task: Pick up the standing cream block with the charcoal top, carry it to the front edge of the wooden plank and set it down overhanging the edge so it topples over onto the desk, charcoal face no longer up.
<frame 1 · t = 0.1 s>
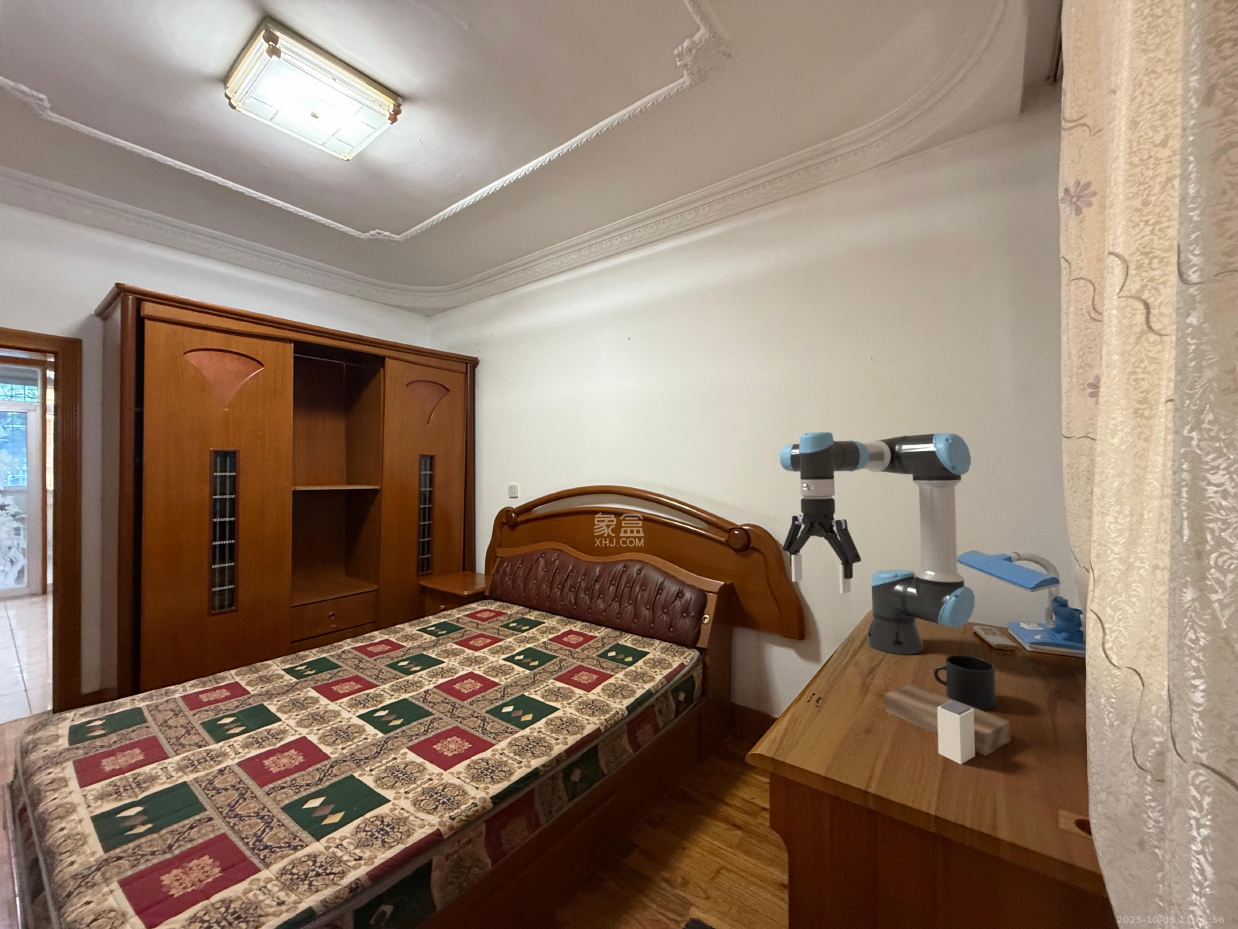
hand: (820, 586, 116), 28 cm above the table, fingers open, 13 cm apart
mug: (964, 700, 116), on the table
wooden plank: (944, 725, 105), on the table
block: (956, 754, 94), on the table
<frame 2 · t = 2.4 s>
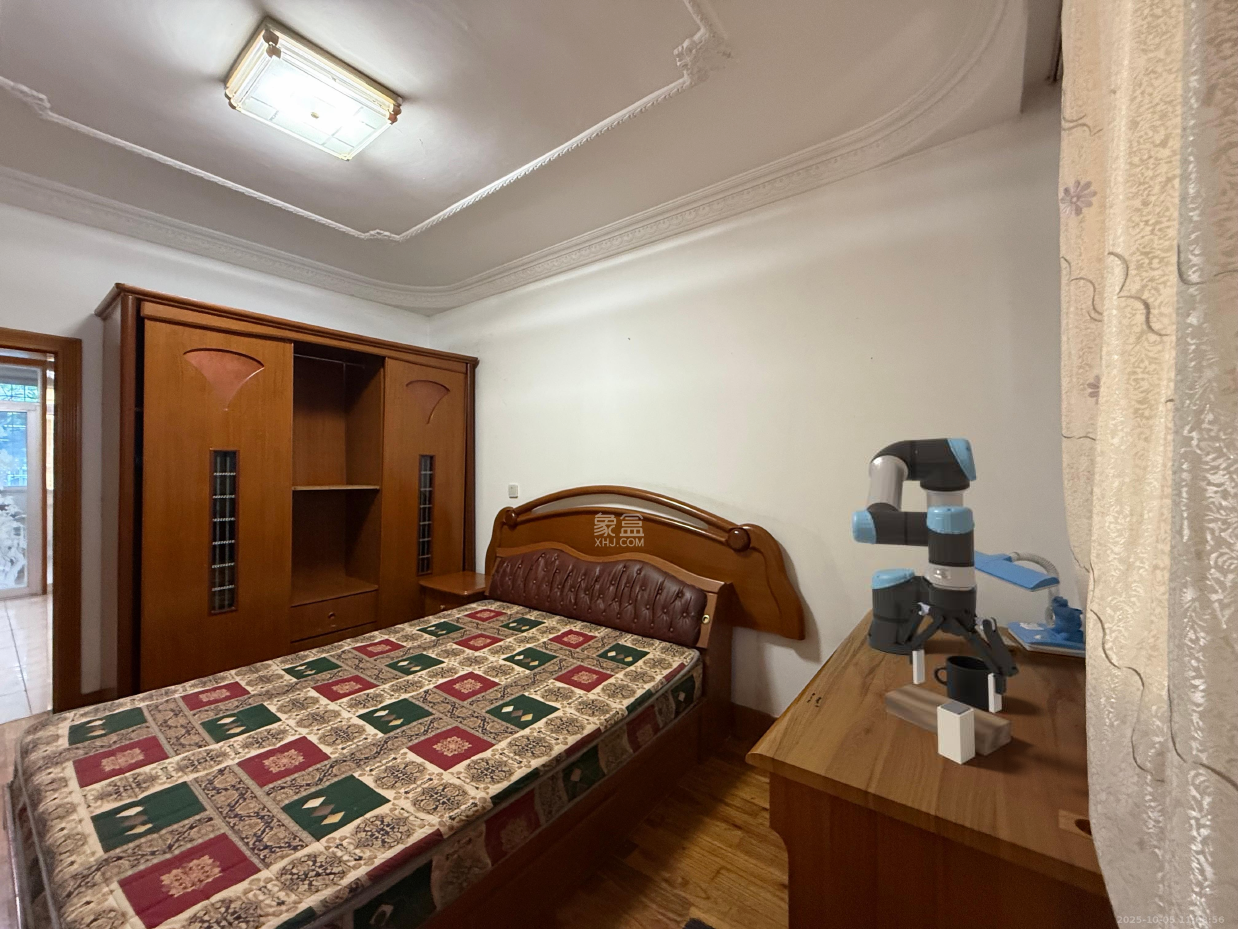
hand: (955, 695, 94), 12 cm above the table, fingers open, 13 cm apart
nothing on the table moved.
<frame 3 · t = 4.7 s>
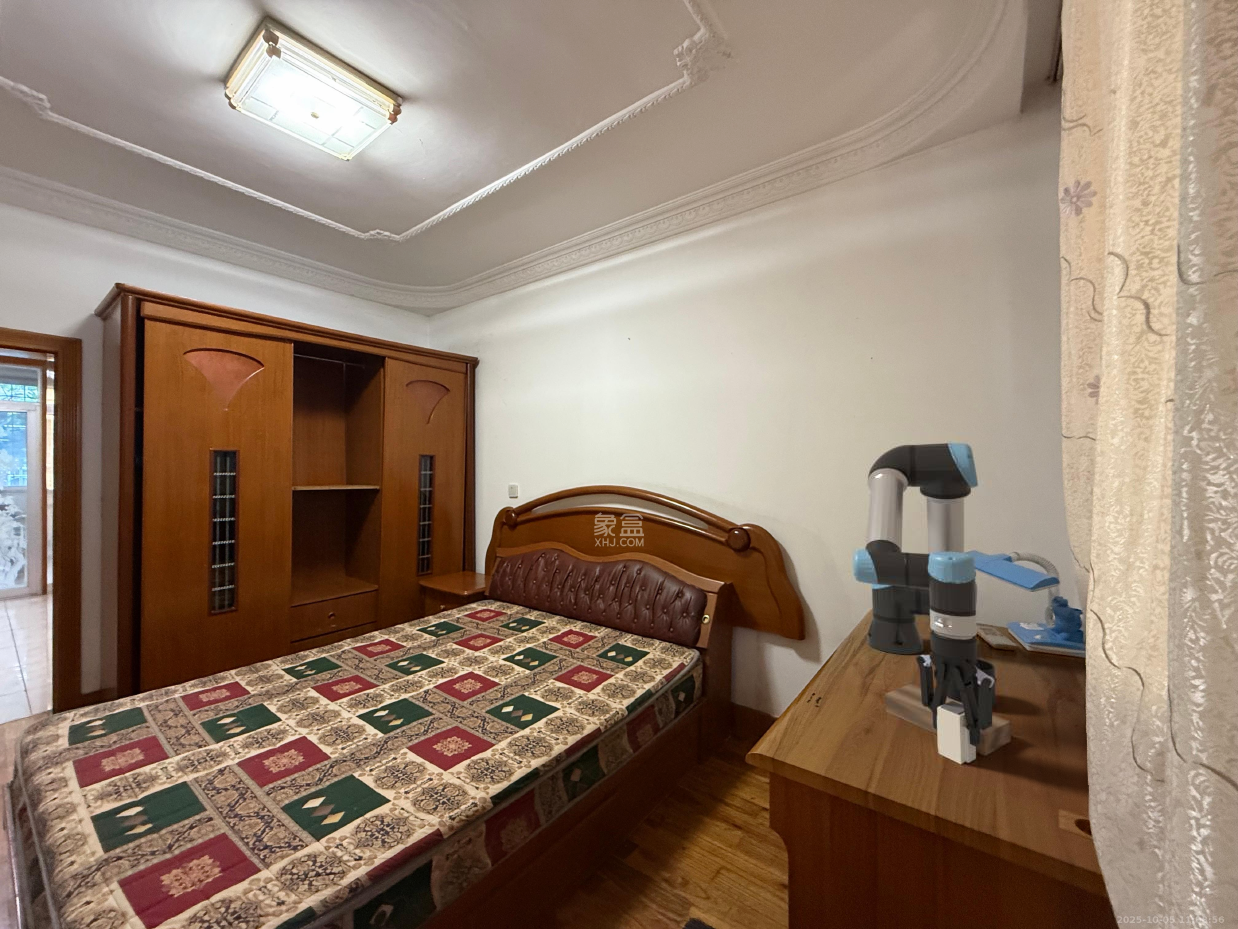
hand: (956, 753, 94), 0 cm above the table, fingers closed on block, 4 cm apart
block: (956, 754, 94), on the table, touching gripper
everything else where it was.
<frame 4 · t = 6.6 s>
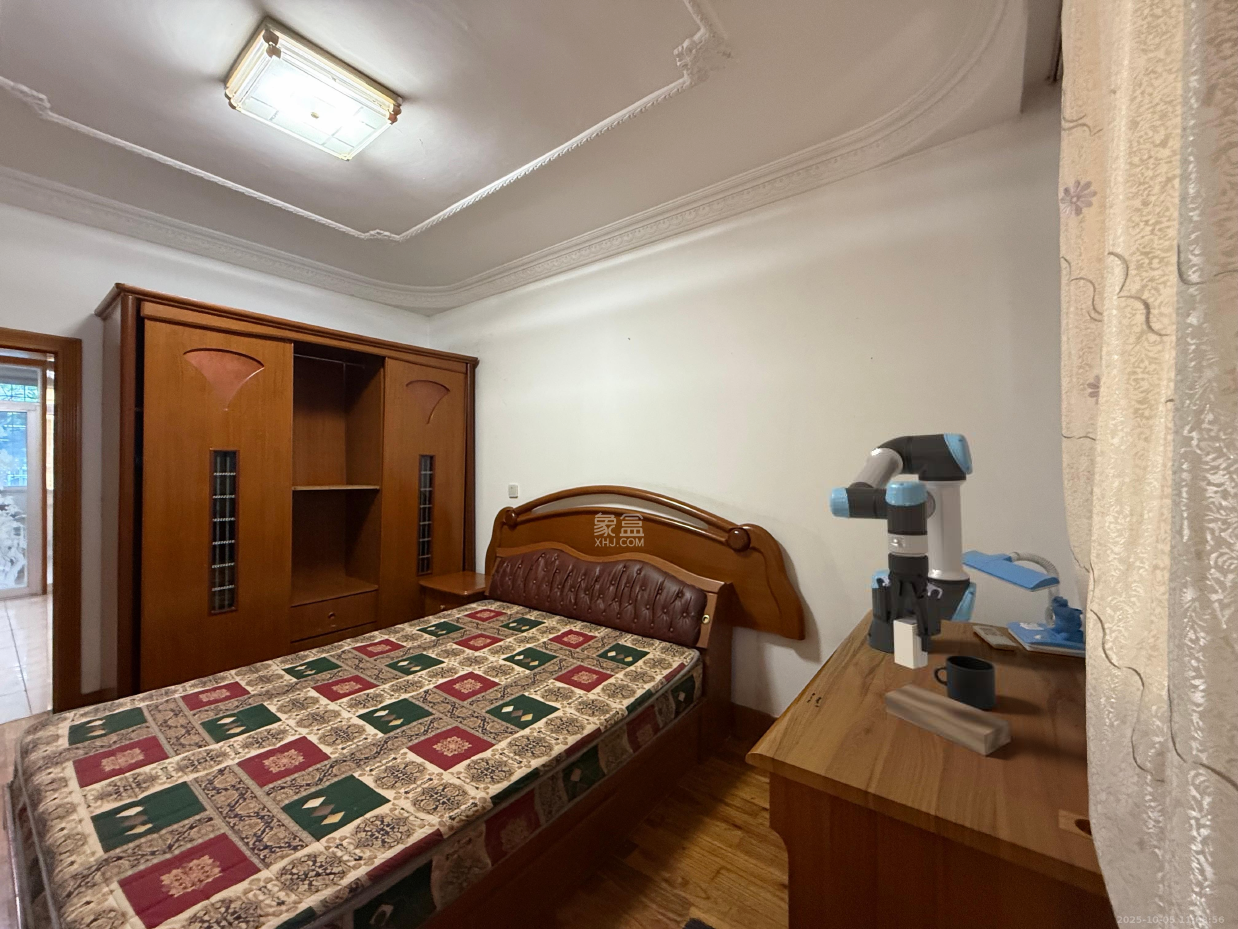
hand: (910, 661, 104), 14 cm above the table, fingers closed on block, 4 cm apart
block: (910, 663, 104), point 14 cm above the table, touching gripper
everything else where it was.
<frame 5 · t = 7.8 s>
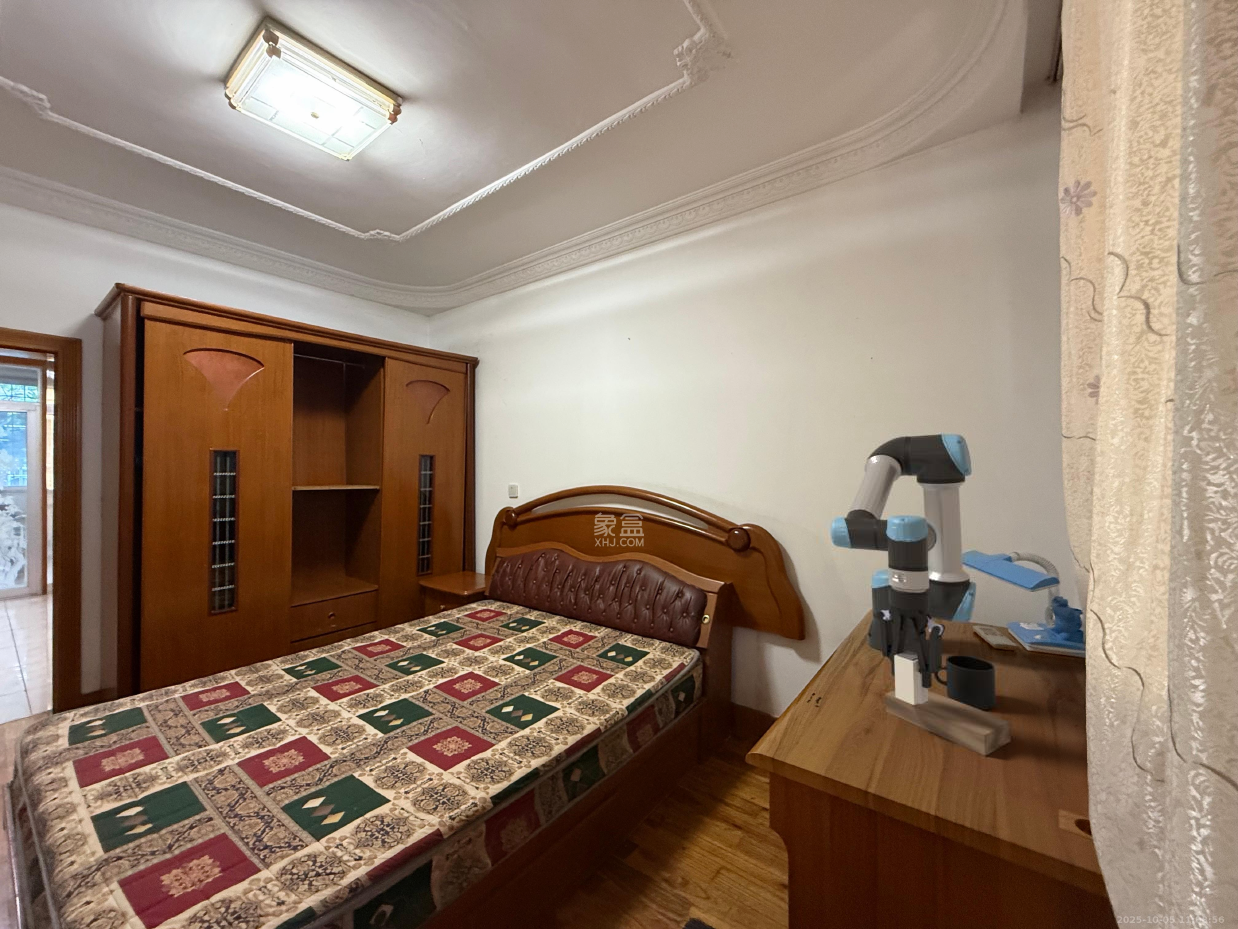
hand: (911, 696, 104), 7 cm above the table, fingers closed on block, 4 cm apart
block: (911, 698, 104), point 6 cm above the table, touching gripper
everything else where it was.
when the fingers open (5 cm above the table, at t = 8.7 s): block drops 2 cm and tips over, point 2 cm above the table.
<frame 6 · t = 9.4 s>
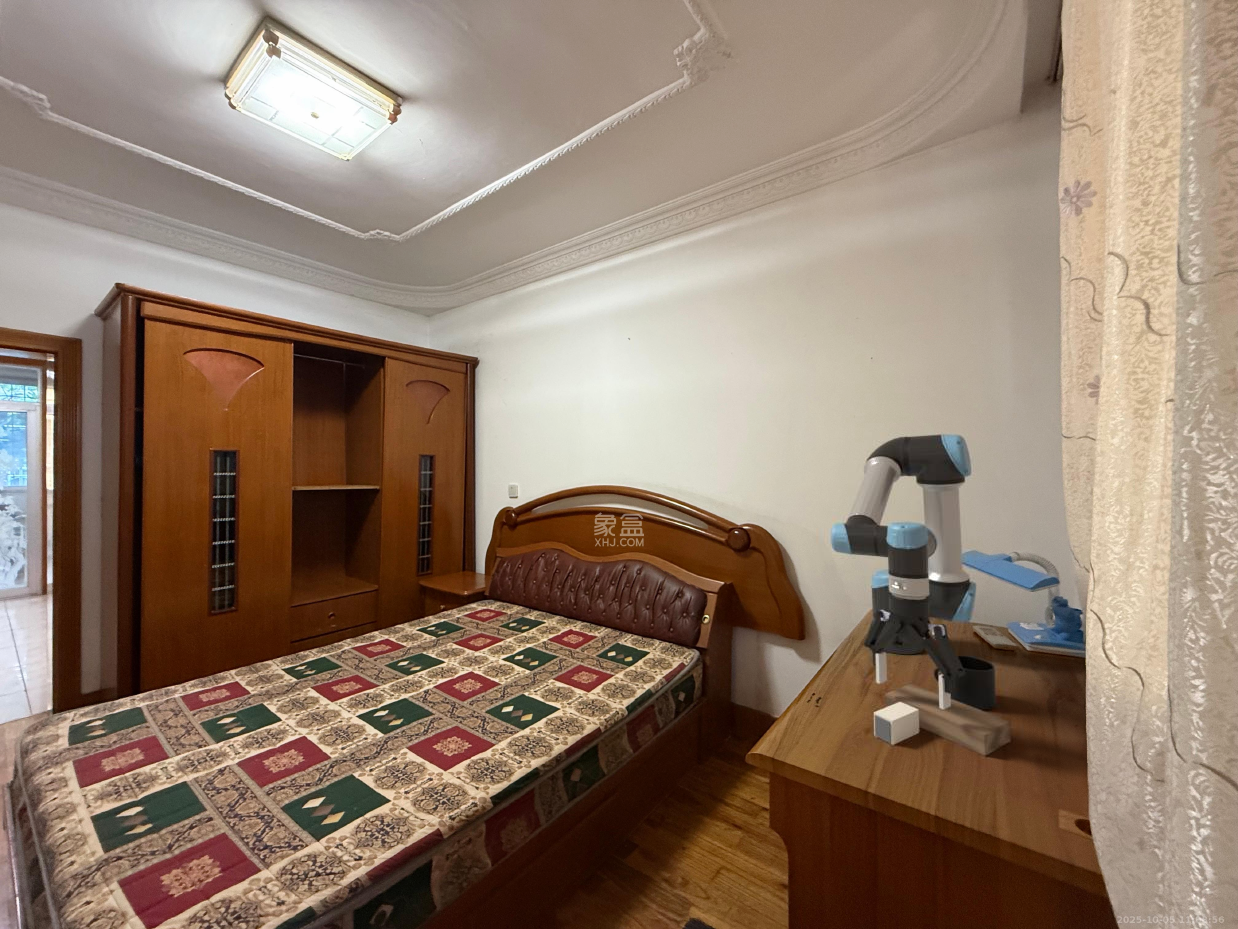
hand: (911, 693, 105), 7 cm above the table, fingers open, 13 cm apart
block: (909, 717, 104), point 2 cm above the table, tilted 90°
everything else where it was.
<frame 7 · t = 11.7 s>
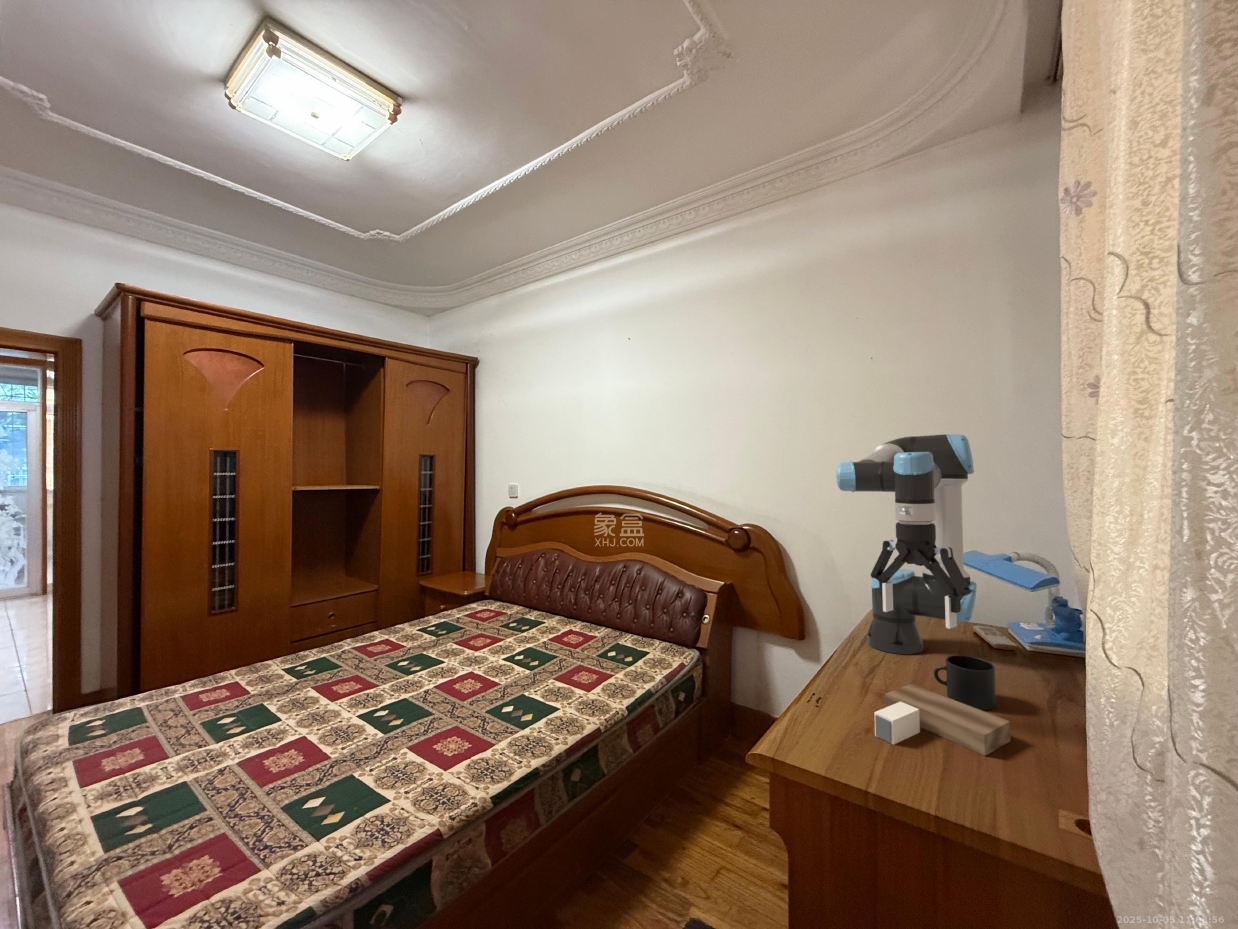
hand: (918, 618, 107), 23 cm above the table, fingers open, 13 cm apart
nothing on the table moved.
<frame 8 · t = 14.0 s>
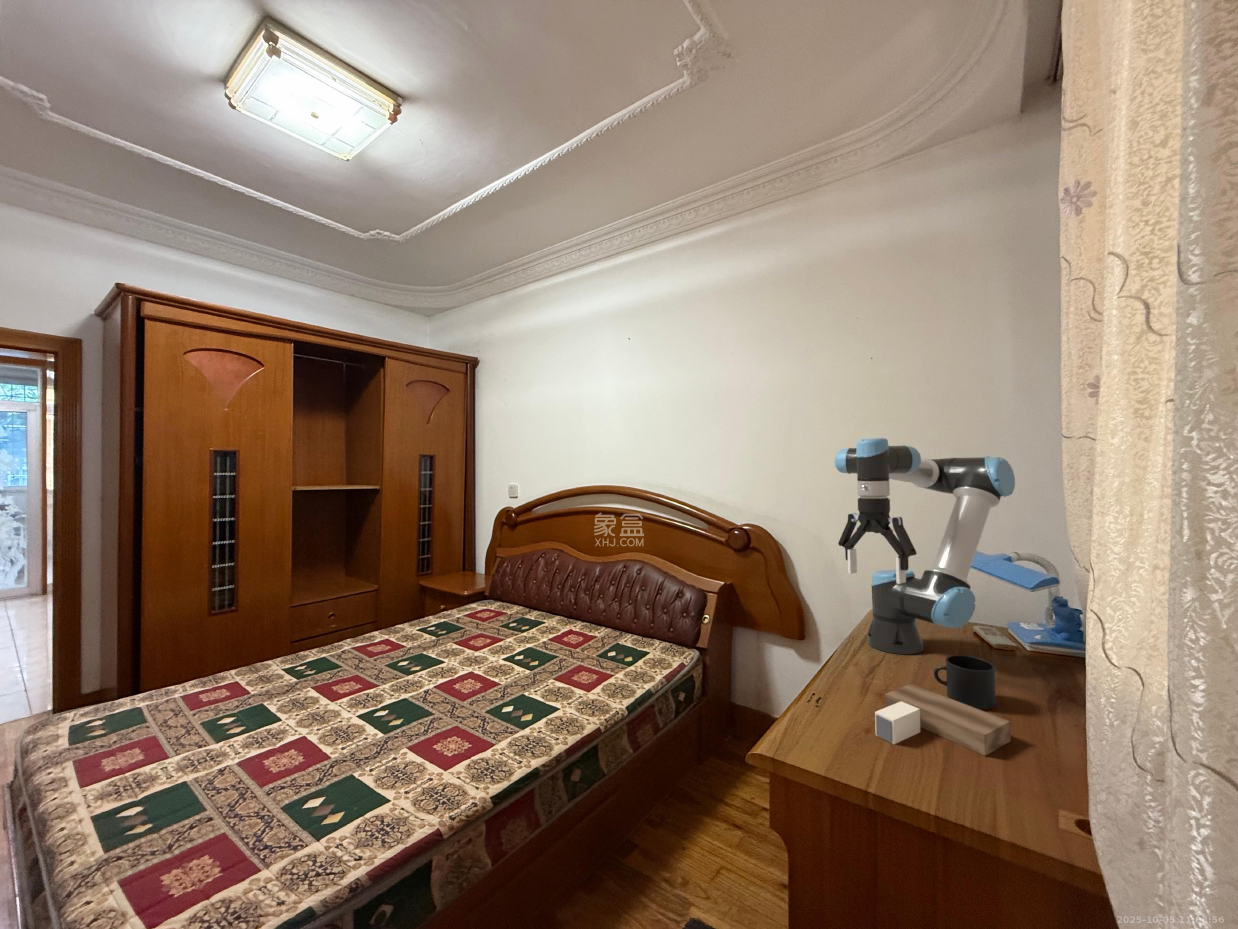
hand: (875, 577, 128), 27 cm above the table, fingers open, 13 cm apart
nothing on the table moved.
at the end: block tilted 90°; block inside the target area (8.2 cm from its centre), point 2.3 cm above the table; the gripper is holding nothing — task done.
